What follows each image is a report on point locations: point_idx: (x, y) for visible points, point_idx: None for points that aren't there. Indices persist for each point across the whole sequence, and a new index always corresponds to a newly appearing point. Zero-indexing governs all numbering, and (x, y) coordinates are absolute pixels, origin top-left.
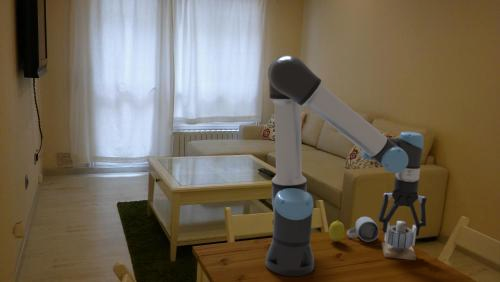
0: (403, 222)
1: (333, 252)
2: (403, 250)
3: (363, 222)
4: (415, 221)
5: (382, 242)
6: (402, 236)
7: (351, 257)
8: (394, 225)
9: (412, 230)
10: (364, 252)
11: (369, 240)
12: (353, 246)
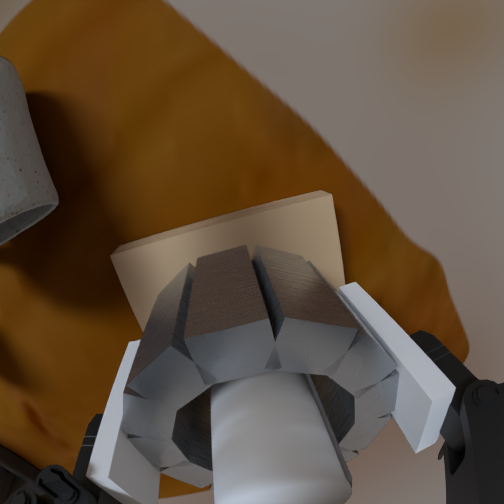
0: (310, 501)
1: (13, 406)
2: None
3: None
4: (451, 498)
5: (114, 261)
6: None
7: (73, 426)
8: (162, 358)
9: (395, 387)
10: (81, 374)
11: (35, 212)
12: (16, 329)
